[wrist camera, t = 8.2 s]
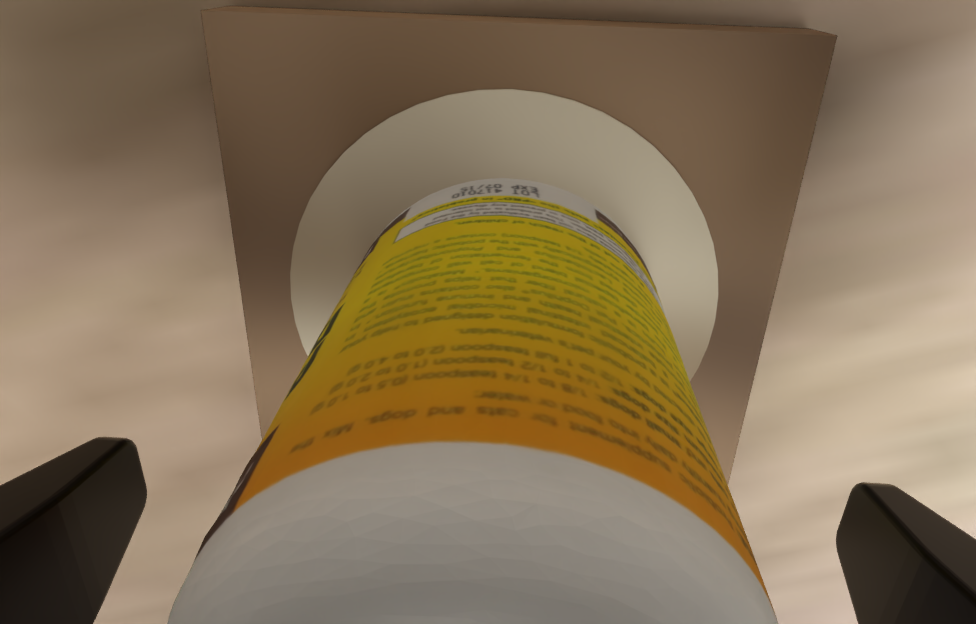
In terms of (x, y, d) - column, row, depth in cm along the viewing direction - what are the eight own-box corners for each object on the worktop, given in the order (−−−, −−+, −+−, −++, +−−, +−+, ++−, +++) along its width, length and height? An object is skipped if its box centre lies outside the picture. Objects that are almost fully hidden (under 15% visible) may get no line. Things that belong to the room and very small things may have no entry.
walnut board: (706, 485, 16) (719, 525, 15) (286, 459, 17) (267, 497, 16) (809, 28, 12) (839, 36, 11) (229, 5, 12) (198, 10, 11)
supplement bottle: (345, 163, 12) (-252, 820, 3) (671, 172, 12) (1157, 922, 3) (367, 427, 14) (91, 1218, 5) (636, 439, 14) (819, 1290, 5)
